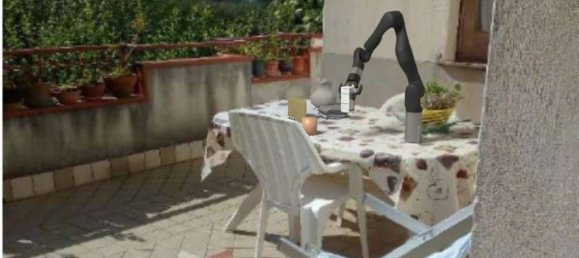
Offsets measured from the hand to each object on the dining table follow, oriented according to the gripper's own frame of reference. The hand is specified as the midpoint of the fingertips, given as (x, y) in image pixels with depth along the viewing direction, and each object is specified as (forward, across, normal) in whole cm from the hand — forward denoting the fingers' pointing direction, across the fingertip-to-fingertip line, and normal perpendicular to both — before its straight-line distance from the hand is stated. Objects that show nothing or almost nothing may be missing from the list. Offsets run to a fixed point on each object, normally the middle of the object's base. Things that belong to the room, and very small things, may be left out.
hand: (346, 99), depth 329 cm
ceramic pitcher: (-44, -53, +77) cm, 103 cm away
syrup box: (+4, 0, +6) cm, 8 cm away
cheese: (-10, -48, +43) cm, 65 cm away
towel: (-25, -34, +59) cm, 73 cm away
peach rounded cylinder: (+15, -24, +17) cm, 34 cm away
